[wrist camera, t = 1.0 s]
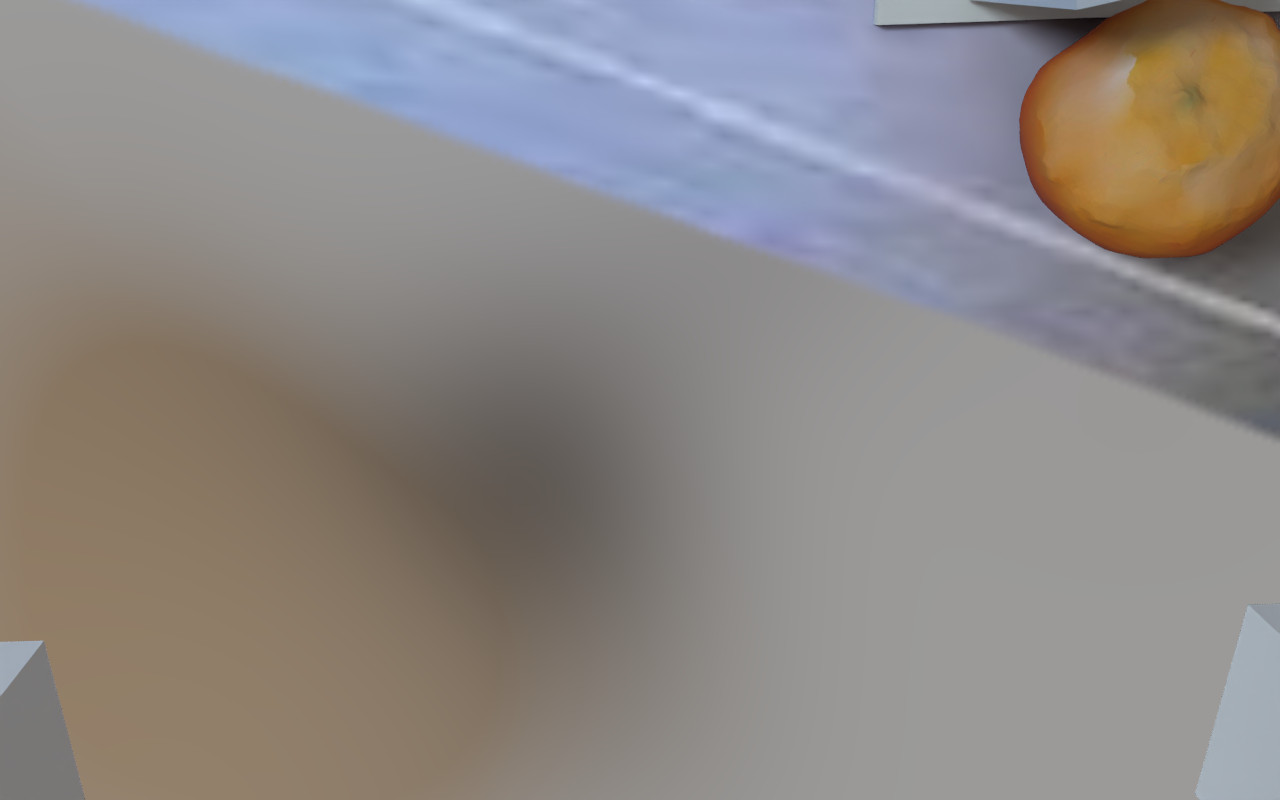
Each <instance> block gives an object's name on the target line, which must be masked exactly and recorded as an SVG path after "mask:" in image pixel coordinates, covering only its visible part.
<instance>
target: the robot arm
mask: <svg viewBox="0 0 1280 800" xmlns="http://www.w3.org/2000/svg"><path fill="white" fill-rule="evenodd" d="M1195 795H1196V796H1197V797H1198V799H1199V800H1280V604H1252V605H1248V607H1247V611H1246V614H1245V617H1244V621H1243V625H1242V628H1241V632H1240V635H1239V639H1238V642H1237V646H1236V649H1235V653H1234V657H1233V660H1232V664H1231V667H1230V671H1229V675H1228V679H1227V682H1226V685H1225V689H1224V692H1223V696H1222V700H1221V703H1220V707H1219V710H1218V714H1217V717H1216V721H1215V724H1214V728H1213V732H1212V735H1211V739H1210V743H1209V746H1208V749H1207V753H1206V757H1205V760H1204V764H1203V767H1202V771H1201V774H1200V778H1199V782H1198V785H1197V789H1196V792H1195ZM0 800H85V797H84V793H83V789H82V785H81V782H80V778H79V774H78V770H77V766H76V763H75V759H74V755H73V751H72V747H71V744H70V739H69V735H68V732H67V728H66V724H65V720H64V716H63V713H62V709H61V705H60V701H59V697H58V694H57V689H56V686H55V682H54V678H53V674H52V670H51V666H50V663H49V659H48V655H47V651H46V647H45V644H44V641H21V642H0Z"/></svg>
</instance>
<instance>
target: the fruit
mask: <svg viewBox="0 0 1280 800" xmlns="http://www.w3.org/2000/svg"><path fill="white" fill-rule="evenodd" d="M1019 122H1020V143H1021V149H1022V153H1023V157H1024V161H1025V165H1026V168H1027V171H1028V175H1029V178H1030V181H1031V183H1032V185H1033V187H1034V189H1035V191H1036V193H1037V194H1038V196H1039V197H1040V199H1041V200H1042V202H1043V203H1044V204H1045V205H1046V206H1047V207H1048V208H1049V209H1050V210H1051V211H1052V212H1053V213H1054V214H1055V215H1056V216H1057V217H1058V218H1059V219H1061V220H1062V221H1063V222H1064V223H1066V224H1067V225H1068V226H1069V227H1071V228H1072V229H1073V230H1074V231H1076V232H1077V233H1079V234H1080V235H1082V236H1083V237H1085V238H1086V239H1088V240H1090V241H1091V242H1093V243H1095V244H1096V245H1098V246H1100V247H1102V248H1104V249H1106V250H1109V251H1113V252H1116V253H1121V254H1126V255H1131V256H1135V257H1140V258H1169V257H1189V256H1195V255H1200V254H1204V253H1207V252H1209V251H1211V250H1213V249H1215V248H1216V247H1218V246H1220V245H1222V244H1224V243H1225V242H1227V241H1228V240H1230V239H1232V238H1233V237H1235V236H1236V235H1238V234H1239V233H1241V232H1242V231H1244V230H1245V229H1246V228H1248V227H1249V226H1251V225H1252V224H1253V223H1254V222H1256V221H1257V220H1258V219H1259V218H1261V217H1262V216H1263V215H1264V214H1265V213H1266V212H1267V211H1268V210H1269V209H1270V208H1271V207H1272V206H1273V204H1274V203H1275V202H1276V201H1277V200H1278V199H1279V198H1280V30H1279V29H1278V28H1277V26H1276V24H1275V22H1274V20H1273V19H1272V18H1271V17H1270V16H1269V15H1267V14H1266V13H1263V12H1260V11H1257V10H1254V9H1251V8H1248V7H1245V6H1238V5H1233V4H1229V3H1226V2H1223V1H1220V0H1146V1H1144V2H1142V3H1140V4H1138V5H1136V6H1133V7H1131V8H1129V9H1126V10H1124V11H1122V12H1120V13H1117V14H1115V15H1113V16H1111V17H1109V18H1107V19H1106V20H1104V21H1103V22H1102V23H1101V24H1099V25H1098V26H1097V27H1096V28H1094V29H1093V30H1092V31H1090V32H1089V33H1088V34H1087V35H1085V36H1084V37H1082V38H1081V39H1079V40H1078V41H1077V42H1075V43H1074V44H1072V45H1071V46H1069V47H1068V48H1066V49H1065V50H1063V51H1062V52H1060V53H1059V54H1058V55H1056V56H1055V57H1053V58H1052V59H1051V60H1049V61H1048V62H1047V63H1046V64H1045V65H1044V66H1042V67H1041V68H1040V70H1039V71H1038V73H1037V74H1036V76H1035V78H1034V79H1033V81H1032V83H1031V84H1030V86H1029V87H1028V89H1027V91H1026V94H1025V96H1024V99H1023V102H1022V106H1021V113H1020V119H1019Z"/></svg>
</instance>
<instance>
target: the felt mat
mask: <svg viewBox="0 0 1280 800" xmlns="http://www.w3.org/2000/svg"><path fill="white" fill-rule="evenodd" d="M1144 1H1146V0H1119V1H1115V2H1110V3H1106V4H1101V5H1097V6H1092V7H1088V8H1083V9H1079V10H1072V9H1061V8H1050V7H1039V6H1028V5H1017V4H1006V3H995V2H984V1H973V0H875V12H874V25H895V24H924V23H953V22H982V21H1011V20H1040V19H1069V18H1098V17H1111V16H1113V15H1115V14H1117V13H1120V12H1122V11H1124V10H1126V9H1129V8H1131V7H1133V6H1136V5H1138V4H1140V3H1142V2H1144ZM1220 1H1223V2H1226V3H1229V4H1233V5H1238V6H1245V7H1248V8H1251V9H1254V10H1257V11H1260V12H1271V11H1280V0H1220Z"/></svg>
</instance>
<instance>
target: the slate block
mask: <svg viewBox="0 0 1280 800" xmlns="http://www.w3.org/2000/svg"><path fill="white" fill-rule="evenodd" d="M973 1H984V2H995V3H1006V4H1017V5H1028V6H1039V7H1050V8H1061V9H1072V10H1079V9H1083V8H1088V7H1092V6H1097V5H1101V4H1106V3H1110V2H1115V1H1119V0H973Z"/></svg>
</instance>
